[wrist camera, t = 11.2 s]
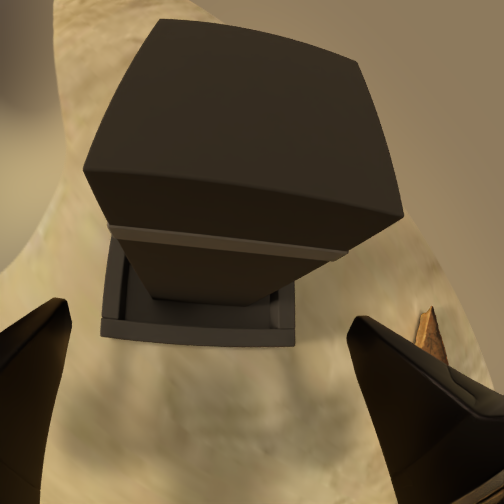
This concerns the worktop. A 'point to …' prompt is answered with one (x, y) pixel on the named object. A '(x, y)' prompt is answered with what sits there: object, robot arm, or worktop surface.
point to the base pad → (190, 314)
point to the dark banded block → (238, 162)
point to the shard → (431, 336)
